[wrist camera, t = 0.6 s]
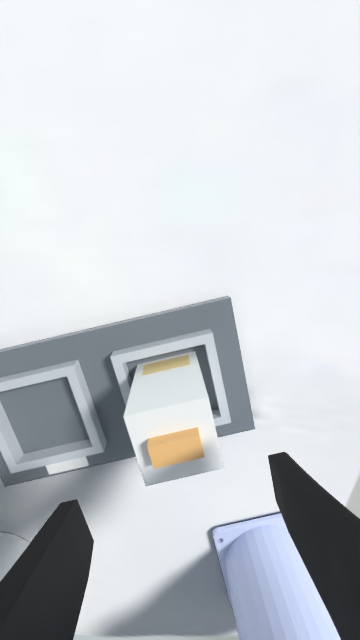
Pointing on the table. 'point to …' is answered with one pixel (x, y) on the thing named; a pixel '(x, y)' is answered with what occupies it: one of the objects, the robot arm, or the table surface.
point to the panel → (109, 387)
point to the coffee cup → (10, 551)
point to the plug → (172, 420)
